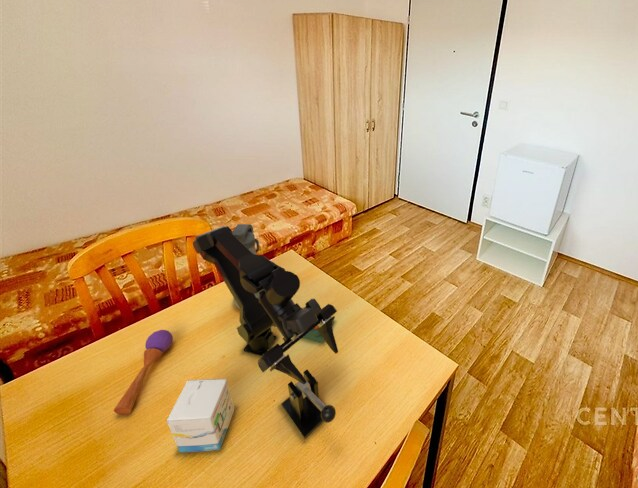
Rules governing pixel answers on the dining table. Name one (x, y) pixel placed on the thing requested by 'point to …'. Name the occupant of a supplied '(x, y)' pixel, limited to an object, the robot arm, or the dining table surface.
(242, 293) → the robot arm
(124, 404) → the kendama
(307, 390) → the lever
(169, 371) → the dining table surface
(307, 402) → the bracket
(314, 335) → the button panel
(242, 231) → the water bottle
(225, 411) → the ink box
